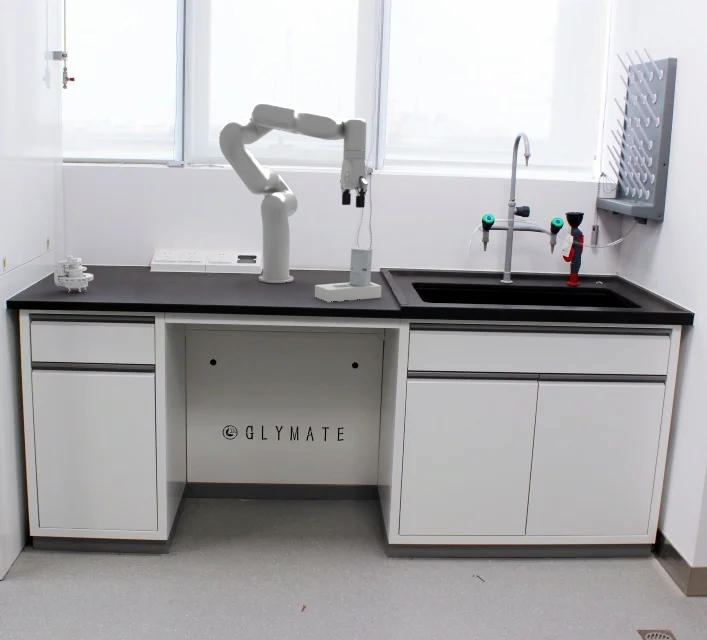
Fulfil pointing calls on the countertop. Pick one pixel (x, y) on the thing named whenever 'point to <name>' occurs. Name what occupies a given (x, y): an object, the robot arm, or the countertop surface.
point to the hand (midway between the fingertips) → (353, 206)
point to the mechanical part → (71, 274)
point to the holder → (347, 291)
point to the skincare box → (360, 266)
